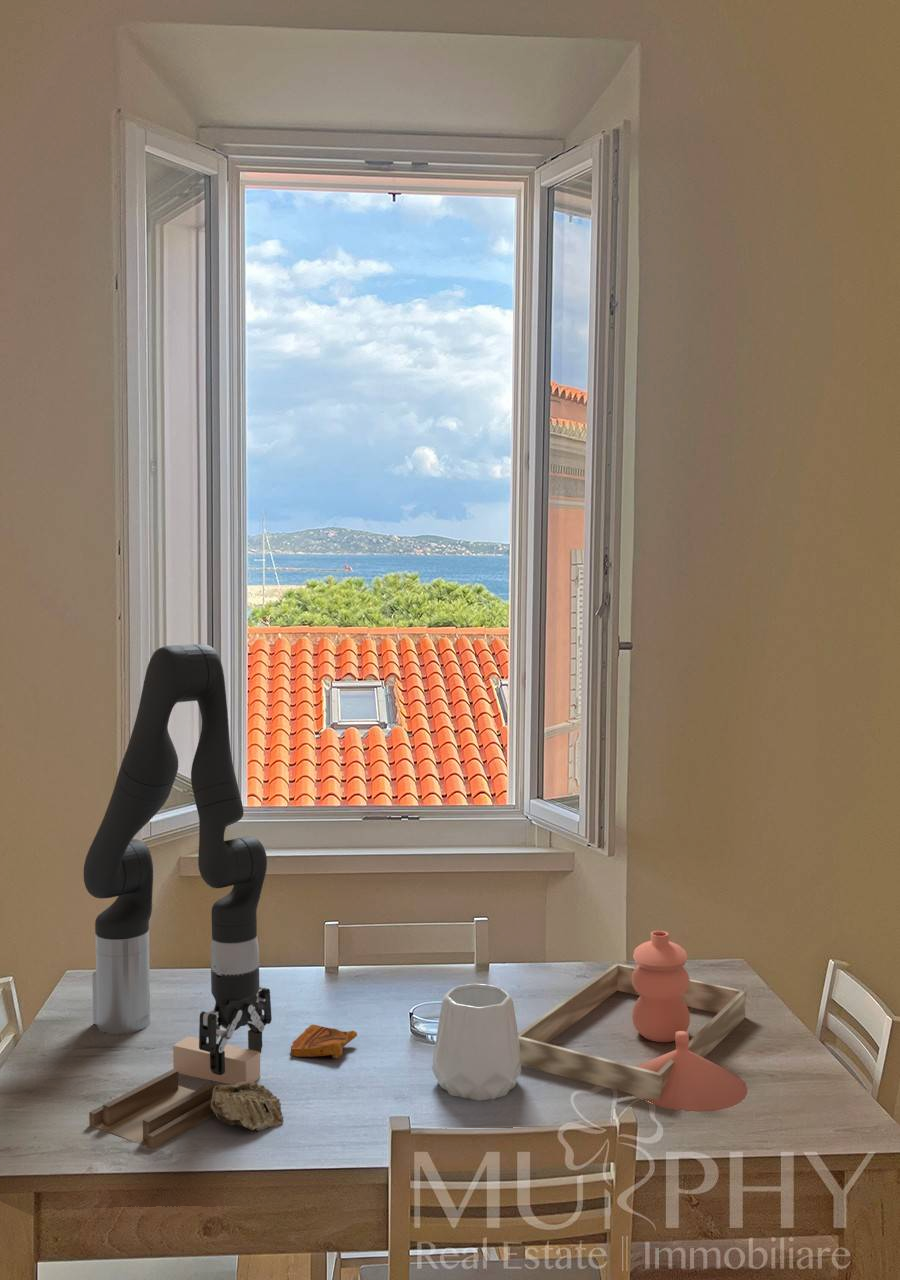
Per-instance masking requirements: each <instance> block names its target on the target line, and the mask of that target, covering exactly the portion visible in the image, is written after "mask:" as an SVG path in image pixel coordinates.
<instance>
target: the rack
mask: <svg viewBox="0 0 900 1280" xmlns="http://www.w3.org/2000/svg"><path fill="white" fill-rule="evenodd" d="M215 1086H218V1084H217V1083H214V1082H209V1083H207V1084H206V1085H203V1086H202V1087H200V1088H199V1089H198V1088H197V1090H192V1089H190V1088H188V1087H185V1086H181V1085H179V1073H178V1071H177V1070H174V1069H173V1068H172V1069H170V1070H168V1071H167V1072H164V1073H162V1074H161V1075H159V1076H156V1077H154V1078H153V1079H151V1080H149V1081H146V1082H145V1083H143V1084H141V1085H138V1086H137V1087H135V1088H133V1089H132V1090H129V1091H127V1092H125V1093H124V1094H123V1093H122V1094H121V1095H120V1096H118V1097H115V1098H113V1099H112V1100H110V1101H108V1102H106V1103H104V1104H103V1105H100V1106H99V1107H97V1108H95V1109H93V1110H91V1111H89V1113H88V1114H89V1115H88V1116H89V1117H88V1118H89V1120H88V1121H89V1126H90V1127H93V1128H95V1129H98V1130H101V1131H103V1132H107V1133H109V1134H112V1135H115V1136H117V1137H120V1138H122V1139H125V1140H129V1141H131V1142H133V1143H137V1144H139V1145H142V1146H147V1147H148V1148H150V1149H155V1148H157V1147H158V1146H160V1145H162V1144H164V1143H166V1142H168V1141H170V1140H171V1139H173V1138H174V1137H177V1136H178V1135H180V1134H182V1133H184V1132H187V1130H189V1129H191V1128H193V1127H195V1126H197V1125H198V1124H200V1123H203V1122H204V1121H206V1120H209V1118H211V1117H213V1116H216V1114H215V1113H214V1112H213V1110H212V1109H211V1099H212V1093H213V1089H214V1087H215Z"/></svg>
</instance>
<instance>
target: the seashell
mask: <svg viewBox="0 0 900 1280" xmlns="http://www.w3.org/2000/svg"><path fill="white" fill-rule="evenodd" d="M277 1097H278V1096H276V1095H273V1093H272V1091H270V1090H269V1089H267V1088H266V1087H265V1085H263V1084H258V1083H256V1082H254V1083H253V1082H246V1081H245V1082H238V1083H236V1084H234V1085H231V1084H219V1085H217V1086H215V1087H214V1089H213V1093H212V1099H211V1109H212V1110H213V1112H214V1113H215V1116H216V1118H217V1119H218V1120H219V1121H220V1122H222V1123H226V1124H228V1125H230V1126H235V1125H237V1126H243V1127H244V1128H247V1129H249V1130H250V1131H255V1130H256V1131H258V1132H260V1131H263V1130H265V1129H267V1128H273V1127H274V1128H275V1127H278V1126H281V1125H283V1123H284V1116H283V1112H282V1110H281V1109H282V1103H281V1102H280V1098H277Z"/></svg>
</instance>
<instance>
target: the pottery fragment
mask: <svg viewBox="0 0 900 1280" xmlns="http://www.w3.org/2000/svg"><path fill="white" fill-rule="evenodd" d="M357 1036H358V1032H357V1031H356V1030H349V1031H342V1030H339V1029H337V1028H331V1027H327V1026H321V1025H317V1024H310V1025H309V1026H308V1027H307V1028H305V1030H304V1031H303V1032H302V1033H301V1034H300V1035H299V1036H298V1037H297V1038H296V1039H294V1041H293V1042H292V1045H291V1046H290V1053H291V1054H290V1055H291V1056H292V1057H300V1058H301V1057H303V1058H305V1057H307V1058H308V1057H309V1058H310V1057H323V1056H324V1057H325V1056H331V1057H332V1058H333V1059H338V1058H340V1057H341V1056H343V1051H344V1049H343V1048H345V1046H346V1045H348V1044H349V1043H350V1042H351V1041H352V1040H354V1039H355V1038H356V1037H357Z"/></svg>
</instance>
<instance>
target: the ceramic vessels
mask: <svg viewBox="0 0 900 1280" xmlns="http://www.w3.org/2000/svg"><path fill="white" fill-rule="evenodd" d="M669 937H670V933H669V932H668V931H665V930H654V931H651V932H650V940H647V941H645V942H642V943H641V944H640V945H637V947H636V948H634V951H633V955H632V958H633V960H634V961H635V963H636V964H637V965H636V968H635V969H634V971H633V974H632V978H631V979H632V985H633V987H634V989H635V990H636V992H637V993H638V994H640V995H641V996H640V995H639V997H638V998H637V1000H636V1001H635V1003H634V1005H633V1007H632V1014H631V1018H632V1019H631V1020H632V1023H633V1026H634V1028H635V1030H636V1031H637V1032H638V1033H639V1034H640V1036H642V1037H643V1038H645V1039H646V1040H649V1041H652V1042H657V1043H658V1042H659V1043H670V1042H675V1049H674V1050H672V1051H669V1052H667V1053H665V1054H661V1055H660V1056H657V1057H655V1058H652V1059H650V1060H647V1061H645V1062H643V1063H640V1064H637V1066H635V1067H639V1068H642V1069H646V1070H650V1071H654V1072H658V1071H659V1070H660V1069H661V1068H662V1067H663V1066H664V1065H665V1064H666V1063H667V1062H668V1061H669V1060H672V1061H674V1064H673V1067H672V1069H671V1072H670V1074H669V1077H668V1080H667V1082H666V1085H665V1087H664V1090H663V1092H662V1095H661V1098H660V1100H656V1099H643V1100H646V1101H649V1102H651V1103H653V1104H654V1105H653V1104H652V1105H653V1106H656V1107H660V1108H663V1109H668V1110H673V1109H678V1110H677V1111H679V1110H684V1111H683V1112H691V1111H693V1113H694V1112H697V1113H698V1112H700V1113H703V1112H714V1111H721V1110H724V1109H728V1108H732V1107H734V1106H735V1105H738V1104H739V1103H741V1102H742V1101H743V1100H744V1099H746V1096H747V1095H748V1087H747V1084H746V1083H745V1081H744V1080H743V1079H742V1078H741V1077H740V1076H739V1075H737V1074H735V1073H733V1072H731V1071H730V1070H728V1069H726V1068H724V1067H723V1066H720V1065H718V1064H716V1063H715V1062H712V1061H710V1060H708V1059H706V1058H705V1057H704V1058H703V1057H701V1056H699V1055H697V1054H695V1053H693V1052H691V1051H689V1041H690V1038H689V1036H690V1035H689V1032H688V1029H689V1026H690V1023H691V1022H690V1021H691V1017H690V1011H689V1008H688V1006H687V1005H686V1003H685V1002H684V1000H683V999H682V998H681V996H682V995H684V994H685V992H686V991H687V989H688V987H689V979H690V976H689V973H688V971H687V970H686V969H685V967H684V965H685V963H686V962H687V960H688V955H687V951H686V950H685V949H684V948H683V947H682V946H681V945H679V944H677V943H675V942H672V941H670V939H669ZM643 1100H642V1101H643Z"/></svg>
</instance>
